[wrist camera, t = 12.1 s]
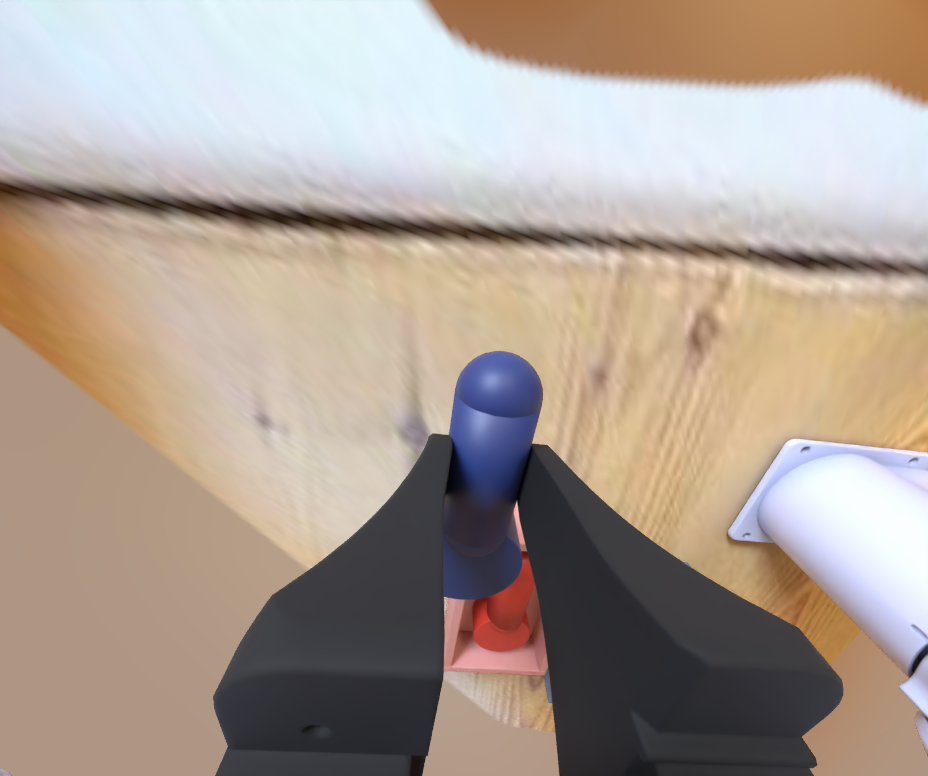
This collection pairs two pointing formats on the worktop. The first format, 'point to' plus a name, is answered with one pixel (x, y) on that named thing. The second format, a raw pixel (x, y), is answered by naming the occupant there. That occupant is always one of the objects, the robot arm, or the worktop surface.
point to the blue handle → (487, 473)
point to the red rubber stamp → (505, 614)
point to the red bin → (473, 658)
